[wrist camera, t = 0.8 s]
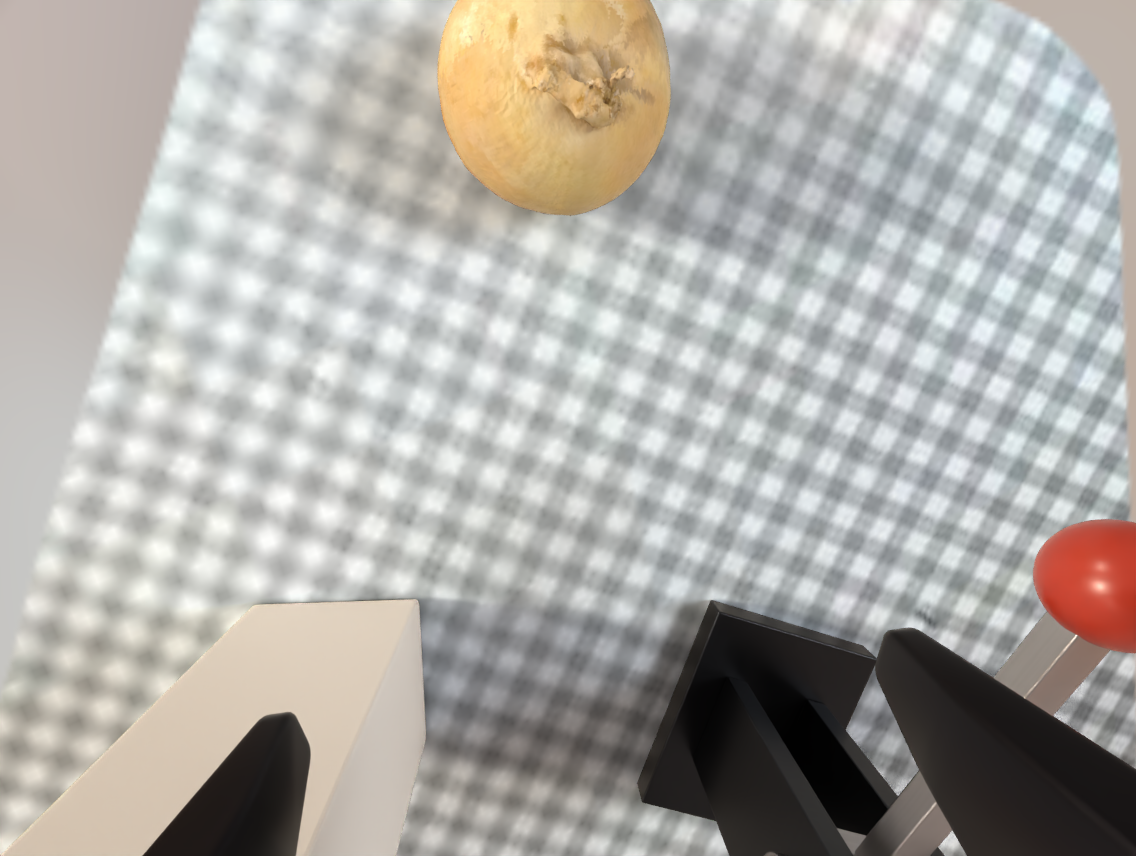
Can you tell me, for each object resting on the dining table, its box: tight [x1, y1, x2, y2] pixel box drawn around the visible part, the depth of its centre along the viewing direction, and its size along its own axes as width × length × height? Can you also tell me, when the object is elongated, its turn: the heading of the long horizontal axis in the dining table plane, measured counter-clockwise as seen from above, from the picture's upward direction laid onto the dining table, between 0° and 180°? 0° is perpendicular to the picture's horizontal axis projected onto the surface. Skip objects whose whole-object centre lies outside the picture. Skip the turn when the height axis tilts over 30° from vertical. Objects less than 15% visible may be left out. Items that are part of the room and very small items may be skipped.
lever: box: [837, 519, 1136, 856], centre depth 16 cm, size 16×3×3 cm, turn 161°
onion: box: [438, 0, 671, 216], centre depth 19 cm, size 8×8×7 cm
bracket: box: [638, 600, 944, 856], centre depth 22 cm, size 10×8×11 cm
